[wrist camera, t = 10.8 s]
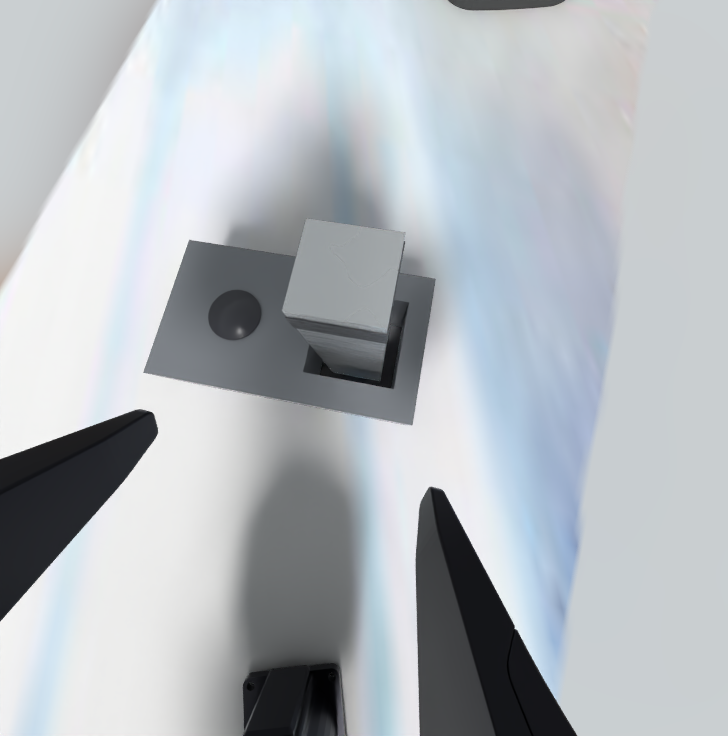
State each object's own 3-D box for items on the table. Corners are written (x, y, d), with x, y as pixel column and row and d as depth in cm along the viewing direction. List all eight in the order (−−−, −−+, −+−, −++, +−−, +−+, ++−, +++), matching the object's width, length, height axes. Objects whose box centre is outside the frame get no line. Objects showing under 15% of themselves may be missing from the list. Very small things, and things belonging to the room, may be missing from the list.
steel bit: (380, 381, 23) (388, 330, 10) (332, 373, 23) (280, 311, 10) (389, 334, 24) (406, 231, 11) (342, 326, 24) (305, 216, 11)
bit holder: (403, 424, 22) (412, 425, 17) (191, 382, 23) (141, 372, 18) (423, 308, 24) (436, 277, 19) (225, 275, 25) (187, 238, 20)
